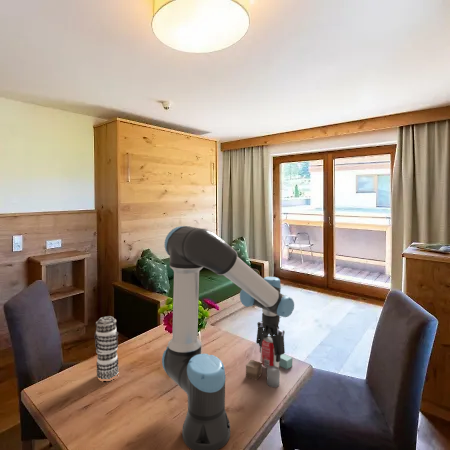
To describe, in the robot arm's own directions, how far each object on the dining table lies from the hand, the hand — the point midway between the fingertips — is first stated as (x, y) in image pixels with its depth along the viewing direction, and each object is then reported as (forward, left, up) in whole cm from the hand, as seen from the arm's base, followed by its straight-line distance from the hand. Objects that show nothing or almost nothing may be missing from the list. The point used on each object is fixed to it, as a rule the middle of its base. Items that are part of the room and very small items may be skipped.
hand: (269, 364), depth 132 cm
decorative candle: (-57, +39, -2) cm, 69 cm away
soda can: (0, 0, -1) cm, 1 cm away
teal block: (+7, -2, -2) cm, 8 cm away
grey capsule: (-7, -8, -2) cm, 11 cm away
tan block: (-9, +1, -2) cm, 9 cm away
